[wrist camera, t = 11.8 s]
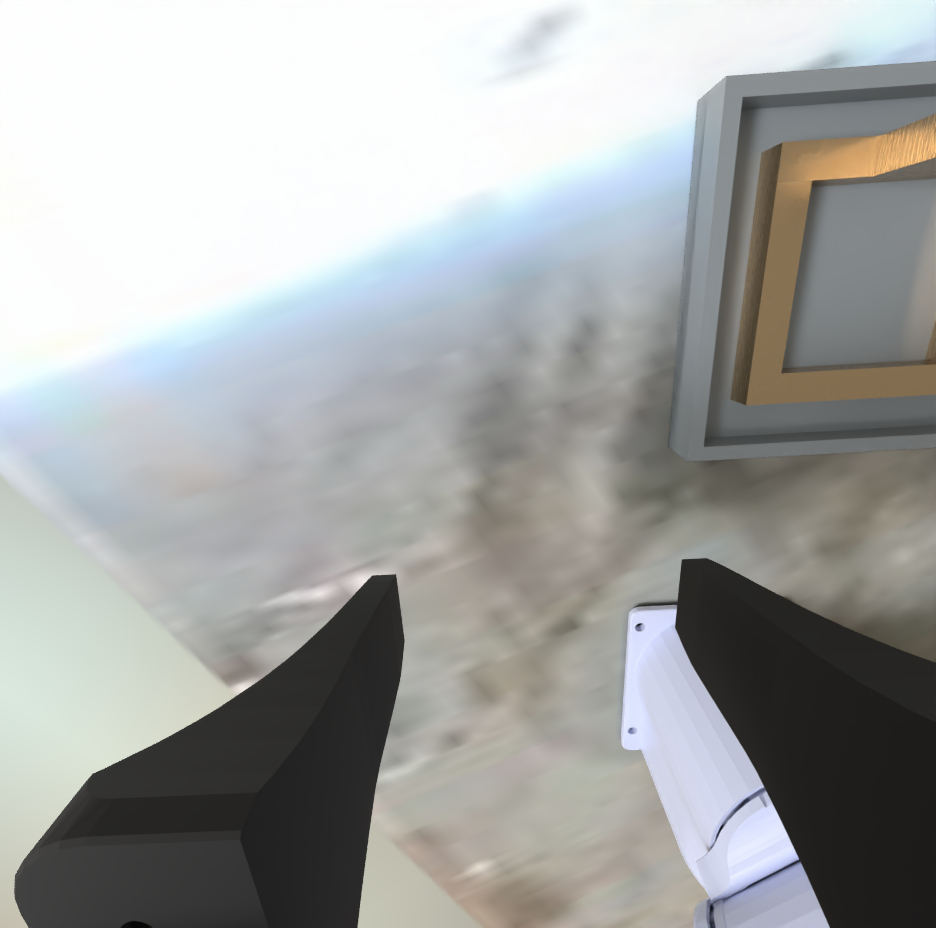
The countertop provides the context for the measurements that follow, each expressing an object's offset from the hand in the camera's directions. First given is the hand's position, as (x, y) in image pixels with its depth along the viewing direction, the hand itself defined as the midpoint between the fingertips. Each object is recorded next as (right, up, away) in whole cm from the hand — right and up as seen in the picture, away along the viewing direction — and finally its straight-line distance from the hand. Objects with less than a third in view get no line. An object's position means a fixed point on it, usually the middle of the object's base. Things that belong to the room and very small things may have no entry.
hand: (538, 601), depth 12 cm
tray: (+14, +11, +7) cm, 19 cm away
